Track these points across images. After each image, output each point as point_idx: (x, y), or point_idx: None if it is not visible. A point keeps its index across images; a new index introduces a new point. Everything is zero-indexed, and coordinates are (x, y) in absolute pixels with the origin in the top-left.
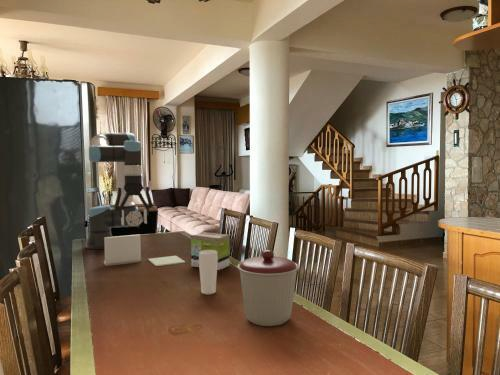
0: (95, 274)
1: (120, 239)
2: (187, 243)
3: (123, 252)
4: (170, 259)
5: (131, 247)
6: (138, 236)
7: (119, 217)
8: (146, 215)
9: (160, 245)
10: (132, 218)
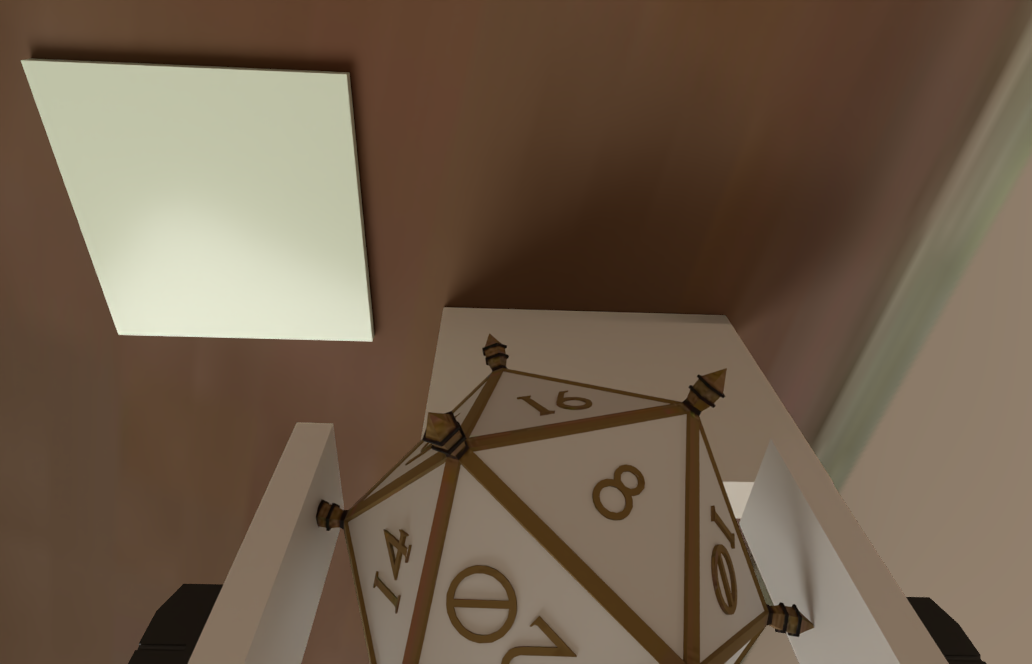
0: (910, 88)
1: None
2: (25, 634)
3: (599, 365)
4: (177, 223)
5: None
6: None
7: (921, 617)
8: (233, 577)
9: None
10: (662, 476)
